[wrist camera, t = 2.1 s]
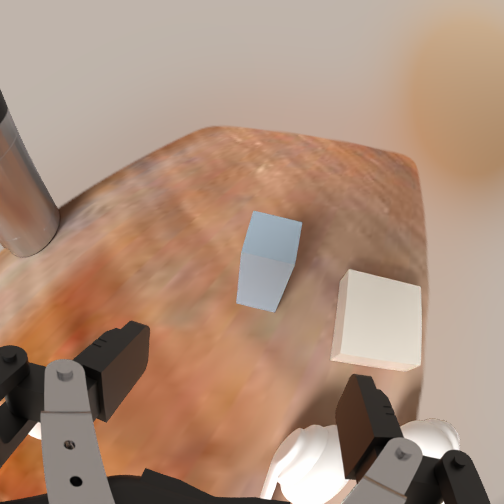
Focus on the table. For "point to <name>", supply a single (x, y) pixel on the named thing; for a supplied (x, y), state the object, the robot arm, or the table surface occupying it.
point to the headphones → (338, 459)
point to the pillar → (267, 260)
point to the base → (377, 322)
